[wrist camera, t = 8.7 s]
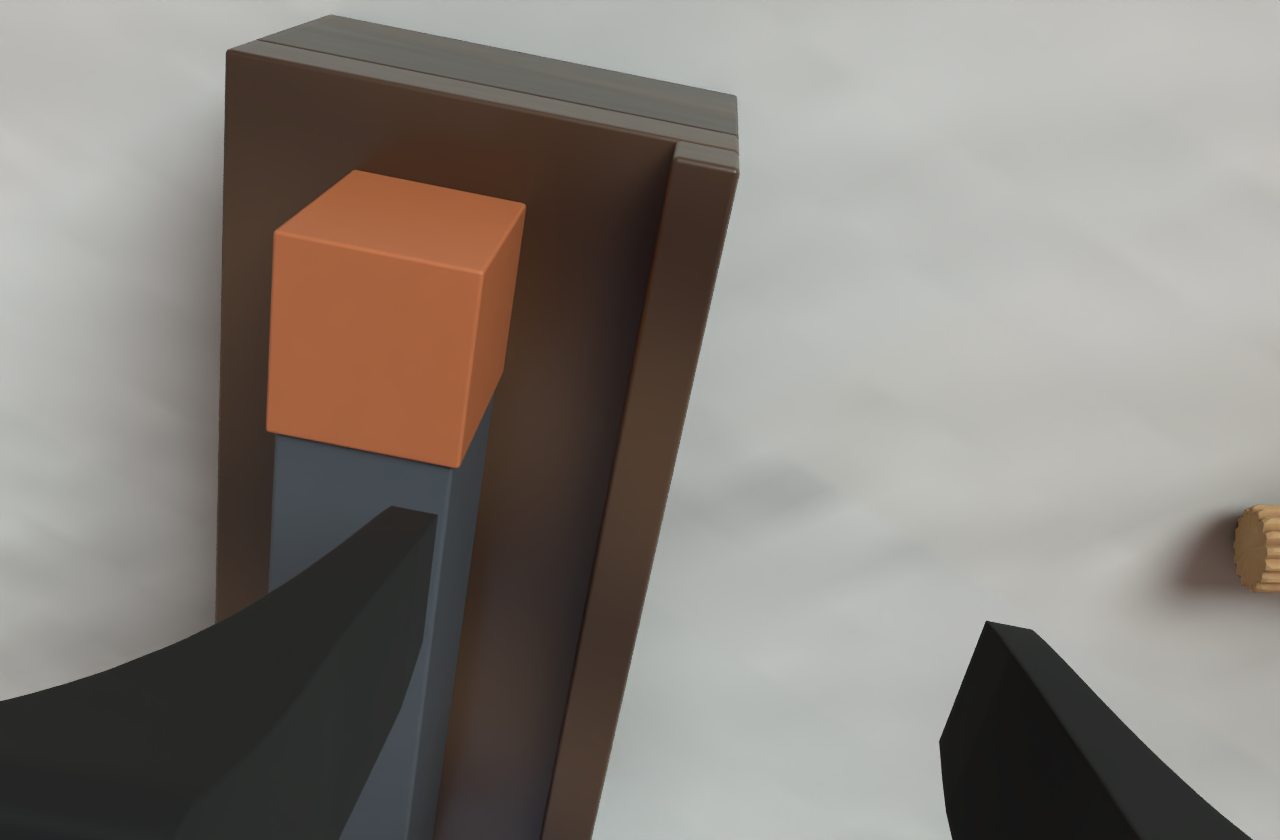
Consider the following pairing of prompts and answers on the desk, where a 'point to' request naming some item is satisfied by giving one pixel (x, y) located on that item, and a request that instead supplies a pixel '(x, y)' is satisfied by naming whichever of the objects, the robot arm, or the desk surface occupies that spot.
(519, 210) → the marker
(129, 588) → the desk surface
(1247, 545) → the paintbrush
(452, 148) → the shelf
